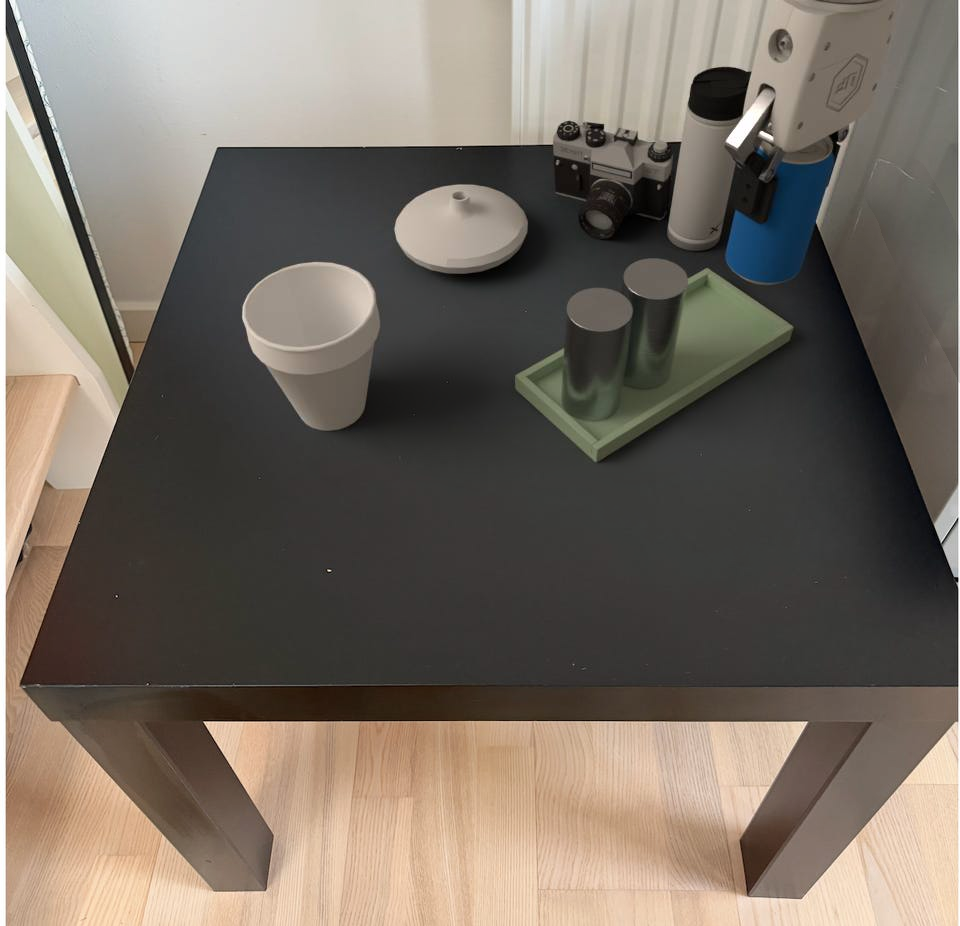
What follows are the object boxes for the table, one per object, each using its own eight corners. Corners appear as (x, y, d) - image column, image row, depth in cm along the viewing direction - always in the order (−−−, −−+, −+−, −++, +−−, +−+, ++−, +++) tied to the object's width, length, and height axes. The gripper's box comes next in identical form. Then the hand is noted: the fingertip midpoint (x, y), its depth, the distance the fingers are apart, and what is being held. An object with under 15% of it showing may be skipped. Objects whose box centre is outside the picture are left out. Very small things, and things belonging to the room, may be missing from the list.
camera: (533, 229, 113) (528, 167, 104) (566, 170, 117) (564, 106, 109) (645, 259, 109) (649, 197, 100) (675, 197, 113) (682, 132, 104)
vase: (373, 236, 111) (366, 186, 105) (480, 193, 116) (479, 142, 111) (441, 306, 102) (437, 255, 97) (554, 255, 107) (556, 204, 102)
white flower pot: (300, 470, 88) (272, 369, 77) (253, 392, 94) (221, 289, 84) (413, 420, 91) (400, 317, 81) (359, 348, 98) (341, 245, 88)
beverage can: (736, 235, 82) (766, 111, 72) (808, 255, 80) (848, 130, 70) (713, 277, 78) (741, 152, 69) (787, 299, 76) (826, 173, 67)
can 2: (682, 372, 94) (701, 281, 85) (640, 398, 92) (654, 307, 82) (642, 341, 97) (656, 250, 88) (600, 366, 95) (610, 274, 86)
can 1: (632, 403, 91) (646, 312, 82) (587, 430, 89) (596, 340, 80) (593, 370, 94) (602, 279, 85) (548, 396, 92) (553, 305, 83)
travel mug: (726, 252, 107) (762, 90, 92) (669, 252, 107) (696, 91, 92) (718, 220, 111) (751, 60, 96) (664, 220, 111) (688, 61, 96)
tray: (789, 340, 97) (794, 326, 96) (596, 463, 87) (597, 449, 86) (704, 281, 104) (707, 267, 102) (514, 389, 94) (514, 375, 92)
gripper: (800, 25, 55) (741, 264, 68) (971, -53, 61) (885, 180, 75) (708, -17, 58) (670, 217, 72) (878, -86, 65) (813, 141, 79)
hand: (780, 196), depth 73 cm, fingers closed on beverage can, 6 cm apart
